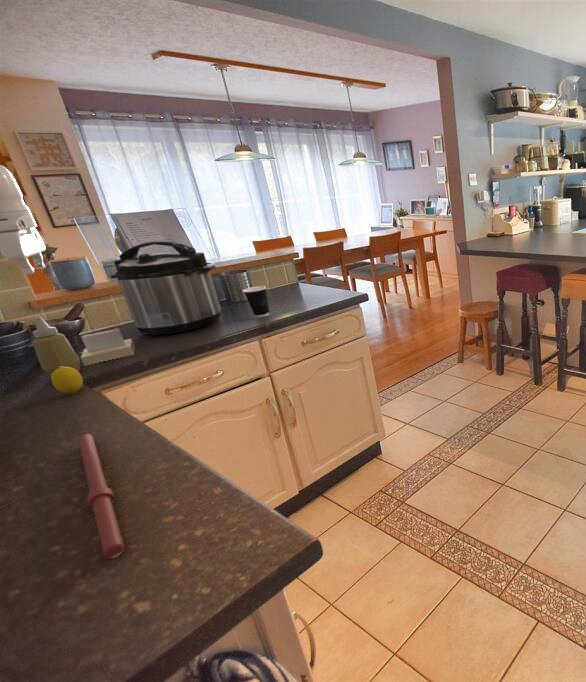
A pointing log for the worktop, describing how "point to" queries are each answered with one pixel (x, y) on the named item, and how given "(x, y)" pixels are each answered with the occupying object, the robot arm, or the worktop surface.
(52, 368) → the squeeze bottle
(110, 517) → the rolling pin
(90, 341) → the light grey rectangular block
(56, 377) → the lemon
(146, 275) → the pressure cooker
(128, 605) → the worktop surface
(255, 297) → the dixie cup
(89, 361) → the block
